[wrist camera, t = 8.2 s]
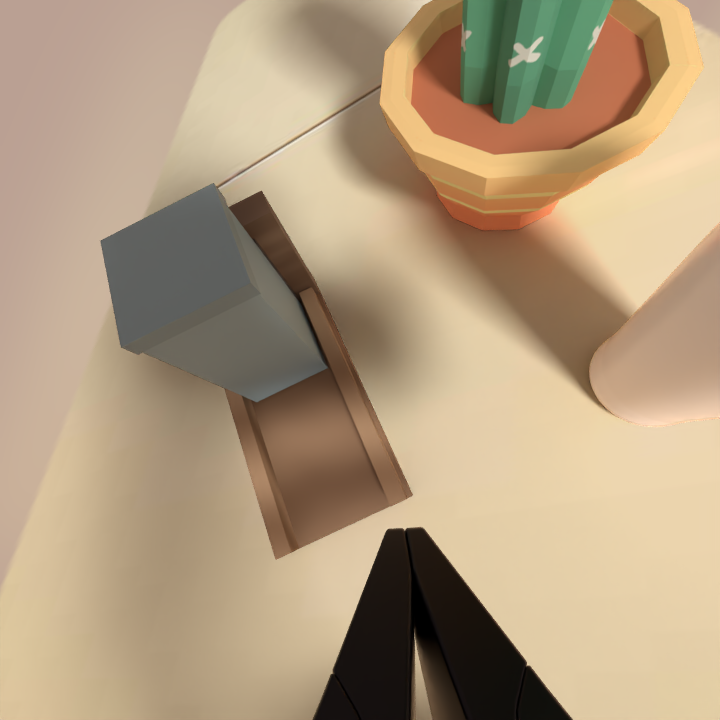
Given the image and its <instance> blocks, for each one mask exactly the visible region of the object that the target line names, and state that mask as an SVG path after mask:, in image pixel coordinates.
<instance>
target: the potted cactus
mask: <svg viewBox="0 0 720 720" xmlns="http://www.w3.org/2000/svg"><path fill="white" fill-rule="evenodd" d="M703 68H704V66H703V62H702V58H701V54H700V50H699V46H698V42H697V38H696V35H695V31H694V27H693V23H692V19H691V15H690V12H689V9H688V8H687V7H686V6H684V5H683V4H681V3H680V2H678V1H677V0H433V1H431V2H429V3H427V4H425V5H423V6H422V8H421V9H420V10H419V11H418V12H417V14H416V15H415V16H414V17H413V18H412V20H411V21H410V22H409V23H408V25H407V26H406V27H405V28H404V29H403V31H402V32H401V33H400V34H399V35H398V37H397V38H396V39H395V40H394V41H393V43H392V44H391V45H390V46H389V48H388V49H387V50H386V51H385V57H384V66H383V76H382V85H381V95H380V106H381V109H382V111H383V114H384V117H385V119H386V122H387V124H388V127H389V128H390V130H391V131H392V133H393V134H394V135H395V137H396V138H397V140H398V141H399V142H400V144H401V145H402V147H403V148H404V149H405V151H406V152H407V154H408V155H409V156H410V158H411V159H412V161H413V162H414V163H415V165H416V166H417V168H418V169H419V170H420V171H422V172H424V173H425V174H426V176H427V177H428V179H429V180H430V181H431V183H432V184H433V186H434V187H435V188H436V190H437V196H438V198H439V199H440V201H441V202H442V204H443V205H444V206H445V208H446V209H447V211H448V212H449V213H450V215H451V216H452V218H454V219H457V220H459V221H461V222H464V223H466V224H468V225H471V226H473V227H475V228H478V229H480V230H482V231H485V230H511V229H520V228H522V227H524V226H526V225H528V224H530V223H532V222H534V221H536V220H538V219H540V218H542V217H544V216H546V215H548V214H550V213H551V212H552V210H553V209H554V207H555V206H556V204H557V203H558V201H559V200H560V199H562V198H564V197H566V196H568V195H570V194H572V193H574V192H576V191H578V190H580V189H582V188H584V187H586V186H587V185H588V184H590V183H591V182H592V181H593V180H594V179H596V178H597V177H598V176H599V175H600V174H602V173H604V172H606V171H608V170H610V169H612V168H614V167H616V166H618V165H620V164H622V163H624V162H626V161H628V160H630V159H632V158H634V157H636V156H638V155H640V154H641V153H642V152H643V151H644V150H645V149H646V148H647V147H648V146H649V145H650V144H651V143H652V142H653V141H654V140H655V139H656V138H657V137H658V136H659V135H660V134H661V133H662V132H663V131H664V130H665V129H666V127H667V126H668V124H669V123H670V121H671V119H672V118H673V116H674V115H675V113H676V111H677V110H678V108H679V107H680V105H681V103H682V102H683V100H684V99H685V97H686V95H687V94H688V92H689V91H690V89H691V87H692V86H693V84H694V83H695V81H696V79H697V78H698V76H699V75H700V73H701V71H702V70H703Z"/></svg>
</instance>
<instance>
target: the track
mask: <svg viewBox="0 0 720 720" xmlns="http://www.w3.org/2000/svg"><path fill="white" fill-rule="evenodd" d="M228 208H229V209H230V210H231V212H232V213H233V214H234V216H235V217H236V218H237V220H238V221H239V222H240V224H241V225H242V226H243V228H244V229H245V230H246V232H247V233H248V234H249V236H250V237H251V238H252V240H253V241H254V242H255V244H256V245H257V246H258V248H259V249H260V250H261V252H262V253H263V254H264V256H265V257H266V258H267V260H268V261H269V262H270V264H271V265H272V266H273V268H274V269H275V270H276V272H277V273H278V274H279V276H280V277H281V278H282V280H283V281H284V282H285V284H286V285H287V286H288V288H289V289H290V290H291V292H292V293H293V294H294V296H295V297H296V298H297V300H298V301H299V302H300V304H301V305H302V308H303V310H304V312H305V315H306V317H307V320H308V322H309V324H310V327H311V329H312V331H313V334H314V336H315V338H316V341H317V343H318V345H319V348H320V350H321V352H322V355H323V357H324V360H325V362H326V364H327V367H328V368H327V369H325V370H323V371H320V372H318V373H316V374H314V375H312V376H310V377H308V378H306V379H304V380H302V381H300V382H298V383H296V384H294V385H291V386H289V387H287V388H285V389H283V390H281V391H279V392H277V393H275V394H273V395H271V396H269V397H267V398H265V399H263V400H260V401H258V402H255V401H253V400H251V399H248V398H246V397H244V396H241V395H239V394H237V393H235V392H232V391H230V390H228V389H225V388H224V389H225V392H226V395H227V399H228V402H229V405H230V409H231V412H232V415H233V419H234V422H235V425H236V429H237V432H238V435H239V439H240V442H241V445H242V449H243V452H244V455H245V459H246V462H247V465H248V469H249V472H250V475H251V479H252V482H253V485H254V489H255V492H256V496H257V499H258V502H259V506H260V509H261V512H262V516H263V519H264V522H265V526H266V529H267V532H268V536H269V539H270V542H271V546H272V549H273V552H274V556H275V559H278V558H281V557H283V556H285V555H287V554H289V553H291V552H293V551H295V550H297V549H299V548H301V547H303V546H305V545H308V544H310V543H312V542H314V541H316V540H318V539H320V538H323V537H325V536H327V535H329V534H331V533H333V532H336V531H338V530H340V529H342V528H344V527H346V526H348V525H351V524H353V523H355V522H357V521H359V520H361V519H363V518H366V517H368V516H370V515H372V514H374V513H376V512H379V511H381V510H383V509H385V508H387V507H389V506H393V505H395V504H397V503H399V502H401V501H403V500H405V499H407V498H409V497H411V496H412V495H413V494H412V492H411V490H410V488H409V486H408V483H407V481H406V479H405V477H404V475H403V472H402V470H401V468H400V466H399V464H398V461H397V459H396V457H395V455H394V453H393V450H392V448H391V446H390V444H389V442H388V439H387V437H386V435H385V433H384V431H383V428H382V426H381V424H380V422H379V420H378V418H377V415H376V413H375V411H374V409H373V407H372V404H371V402H370V400H369V398H368V396H367V393H366V391H365V389H364V387H363V385H362V382H361V380H360V378H359V376H358V374H357V371H356V369H355V367H354V365H353V363H352V360H351V358H350V356H349V354H348V352H347V349H346V347H345V345H344V343H343V341H342V339H341V336H340V334H339V332H338V330H337V328H336V325H335V323H334V321H333V319H332V317H331V314H330V312H329V310H328V308H327V306H326V303H325V301H324V299H323V297H322V295H321V292H320V290H319V288H318V286H317V284H316V281H315V279H314V277H313V276H312V274H311V272H309V270H308V268H307V267H306V265H305V263H304V262H303V260H302V258H301V256H300V255H299V253H298V251H297V250H296V248H295V246H294V245H293V243H292V241H291V240H290V238H289V236H288V234H287V233H286V231H285V229H284V228H283V226H282V224H281V223H280V221H279V219H278V218H277V216H276V214H275V212H274V211H273V209H272V207H271V206H270V204H269V202H268V201H267V199H266V197H265V196H264V194H263V192H262V191H260V192H258V193H256V194H254V195H252V196H250V197H248V198H246V199H244V200H242V201H240V202H238V203H236V204H234V205H232V206H230V207H228Z"/></svg>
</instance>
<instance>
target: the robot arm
mask: <svg viewBox="0 0 720 720" xmlns="http://www.w3.org/2000/svg"><path fill="white" fill-rule="evenodd" d="M414 632H415V638H414ZM415 640H416V645H417V650H418V655H419V660H420V664H421V669H422V673H423V678H424V682H425V687H426V691H427V696H428V701H429V705H430V710H431V714H432V719H433V720H573V719H572V718H571V717H570V715H569V714H568V713H567V712H566V711H565V709H564V708H563V707H562V706H561V704H560V703H559V702H558V701H557V699H556V698H555V697H554V696H553V694H552V693H551V692H550V691H549V690H548V688H547V687H546V686H545V684H544V683H543V682H542V681H541V679H540V678H539V677H538V675H537V674H536V673H535V671H534V670H533V669H532V668H531V666H527V662H526V660H525V659H524V657H523V656H522V655H521V654H520V652H519V651H518V650H517V648H516V647H515V646H514V645H513V643H512V642H511V641H510V639H509V638H508V637H507V635H506V634H505V633H504V632H503V630H502V629H501V628H500V626H499V625H498V624H497V622H496V621H495V620H494V619H493V617H492V616H491V615H490V613H489V612H488V611H487V610H486V608H485V607H484V606H483V604H482V603H481V602H480V600H479V599H478V598H477V597H476V595H475V594H474V593H473V591H472V590H471V589H470V588H469V586H468V585H467V584H466V582H465V581H464V580H463V578H462V577H461V576H460V575H459V573H458V572H457V571H456V569H455V568H454V567H453V566H452V564H451V563H450V562H449V560H448V559H447V558H446V556H445V555H444V554H443V553H442V551H441V550H440V549H439V547H438V546H437V545H436V543H435V542H434V541H433V540H432V538H431V537H430V536H429V534H428V533H427V532H426V531H425V529H424V528H422V527H415V528H407V529H406V530H404V529H403V528H396V529H388V530H387V531H386V533H385V535H384V538H383V540H382V543H381V546H380V548H379V551H378V553H377V556H376V559H375V561H374V564H373V566H372V569H371V572H370V574H369V577H368V579H367V582H366V585H365V587H364V590H363V592H362V595H361V598H360V600H359V603H358V605H357V608H356V611H355V613H354V616H353V618H352V621H351V624H350V626H349V629H348V631H347V634H346V637H345V639H344V642H343V644H342V647H341V650H340V652H339V655H338V657H337V660H336V663H335V665H334V668H333V674H331V675H330V678H329V680H328V683H327V685H326V688H325V690H324V693H323V696H322V698H321V701H320V703H319V705H318V708H317V710H316V712H315V715H314V717H313V720H416V719H415Z"/></svg>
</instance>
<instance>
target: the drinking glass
mask: <svg viewBox="0 0 720 720" xmlns="http://www.w3.org/2000/svg"><path fill="white" fill-rule="evenodd" d="M589 379H590V383H591V387H592V389H593V392H594V393H595V395H596V397H597V398H598V400H599V401H600V402H601V404H602V405H603V406H604V407H605V408H606V409H607V410H609V411H610V412H611V413H613V414H614V415H616V416H617V417H619V418H621V419H623V420H625V421H627V422H630V423H633V424H636V425H640V426H646V427H664V426H670V425H675V424H679V423H684V422H691V421H700V420H710V419H720V222H719V223H718V224H717V225H716V226H715V227H714V228H713V229H712V230H711V231H710V232H709V234H708V235H707V236H706V237H705V238H704V239H703V240H702V241H701V242H700V243H699V244H698V245H697V246H696V247H695V248H694V249H693V251H692V252H691V253H690V254H689V255H688V256H687V257H686V258H685V259H684V260H683V261H682V262H681V264H680V265H679V266H678V267H677V268H676V269H675V270H674V271H673V272H672V273H671V274H670V275H669V276H668V278H667V279H666V280H665V281H664V282H663V283H662V284H661V285H660V286H659V287H658V288H657V289H656V291H655V292H654V293H653V294H652V295H651V296H650V297H649V298H648V299H647V300H646V301H645V302H644V303H643V304H642V306H641V307H640V308H639V309H638V310H637V311H636V312H635V313H634V314H633V315H632V316H631V317H630V318H629V319H628V320H627V321H626V322H625V324H624V325H623V326H622V327H621V328H620V329H619V330H618V331H617V332H616V333H615V334H614V335H612V336H611V337H610V338H608V339H607V340H606V341H605V342H604V343H603V344H601V346H600V347H599V348H598V349H597V350H596V352H595V353H594V355H593V357H592V360H591V363H590V368H589Z"/></svg>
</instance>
